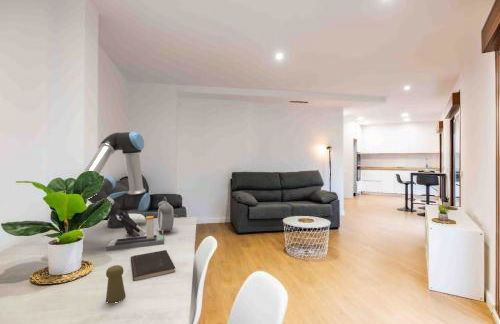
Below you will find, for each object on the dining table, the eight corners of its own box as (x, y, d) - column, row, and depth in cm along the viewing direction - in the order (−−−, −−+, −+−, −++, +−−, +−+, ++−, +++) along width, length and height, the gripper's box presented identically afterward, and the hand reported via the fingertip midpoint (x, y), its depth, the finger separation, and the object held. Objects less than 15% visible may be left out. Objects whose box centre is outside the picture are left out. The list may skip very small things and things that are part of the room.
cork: (127, 299, 87) (126, 267, 87) (106, 306, 83) (105, 272, 83) (124, 292, 92) (122, 261, 92) (104, 297, 88) (103, 266, 88)
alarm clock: (156, 229, 169) (155, 196, 169) (170, 227, 173) (169, 194, 172) (160, 236, 155) (159, 199, 154) (175, 233, 159) (174, 198, 158)
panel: (110, 244, 142) (110, 239, 142) (163, 238, 150) (163, 233, 150) (106, 250, 132) (106, 245, 132) (163, 244, 141) (163, 238, 141)
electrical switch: (141, 235, 157) (139, 220, 156) (133, 238, 153) (131, 223, 152) (132, 233, 162) (130, 218, 161) (124, 236, 158) (122, 221, 157)
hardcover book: (166, 254, 128) (166, 249, 127) (175, 273, 107) (175, 267, 107) (130, 261, 120) (130, 256, 120) (133, 282, 100) (133, 276, 100)
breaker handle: (146, 238, 144) (146, 216, 144) (154, 237, 146) (153, 215, 145) (146, 240, 141) (145, 217, 141) (153, 239, 142) (153, 217, 142)
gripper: (106, 209, 142) (140, 236, 147) (100, 215, 129) (137, 244, 135) (117, 199, 143) (150, 226, 149) (112, 203, 131) (148, 232, 136)
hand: (144, 234), depth 142 cm, fingers closed
